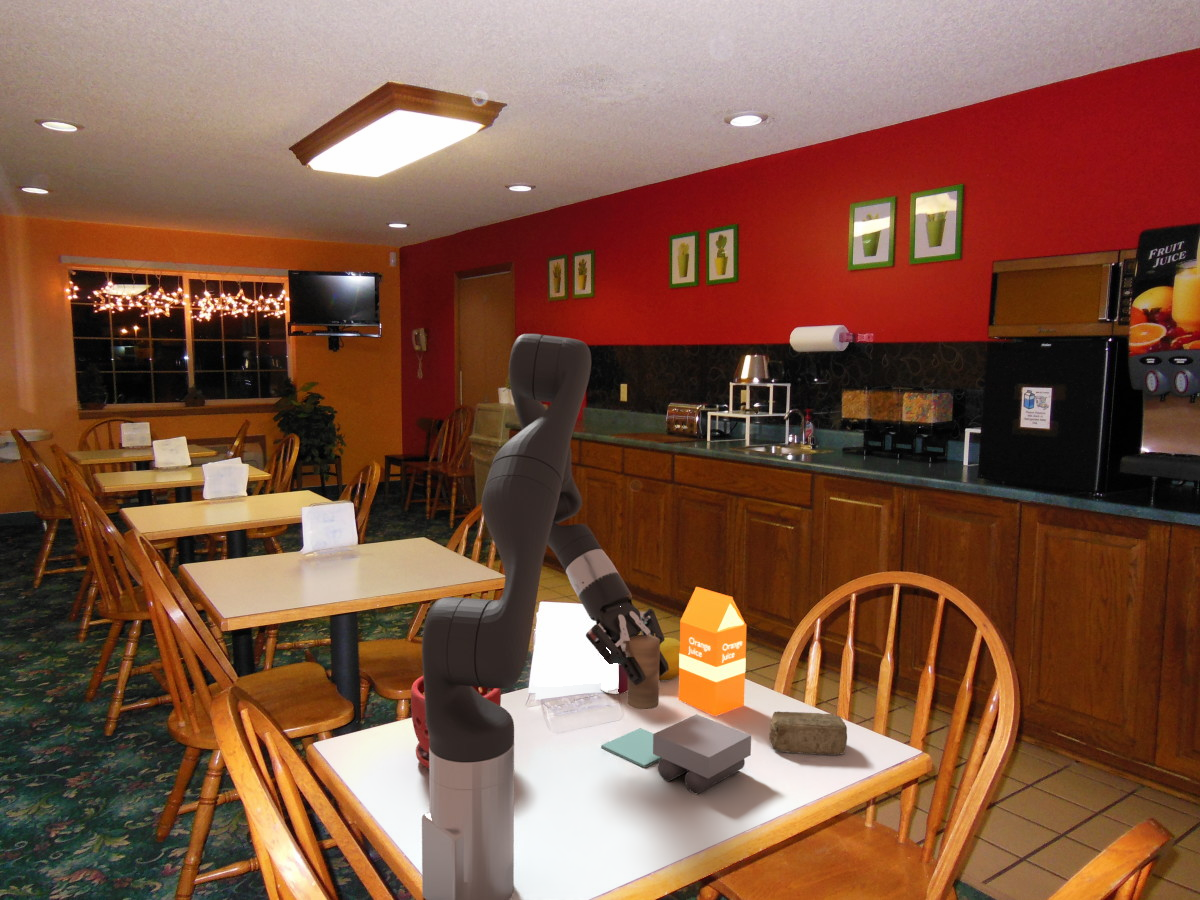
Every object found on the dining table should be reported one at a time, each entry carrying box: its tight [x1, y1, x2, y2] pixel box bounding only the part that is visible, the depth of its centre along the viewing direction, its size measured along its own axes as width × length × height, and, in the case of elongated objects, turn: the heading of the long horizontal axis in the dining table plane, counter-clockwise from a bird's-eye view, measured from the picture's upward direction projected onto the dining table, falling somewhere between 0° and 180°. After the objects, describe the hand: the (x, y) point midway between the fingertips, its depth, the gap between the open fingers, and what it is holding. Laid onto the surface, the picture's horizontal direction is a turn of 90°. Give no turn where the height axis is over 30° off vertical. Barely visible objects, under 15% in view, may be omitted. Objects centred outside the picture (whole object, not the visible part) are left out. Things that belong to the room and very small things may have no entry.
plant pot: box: [410, 675, 502, 769], centre depth 123 cm, size 13×13×12 cm
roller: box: [627, 634, 660, 710], centre depth 127 cm, size 5×5×10 cm
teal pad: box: [600, 727, 663, 769], centre depth 128 cm, size 9×9×1 cm
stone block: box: [769, 711, 848, 755], centre depth 129 cm, size 6×12×5 cm, turn 86°
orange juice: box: [678, 586, 747, 717], centre depth 145 cm, size 8×9×20 cm
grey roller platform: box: [653, 713, 752, 794], centre depth 119 cm, size 10×10×6 cm
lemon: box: [659, 636, 680, 682], centre depth 156 cm, size 11×8×8 cm
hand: (652, 677), depth 125 cm, fingers closed on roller, 4 cm apart
